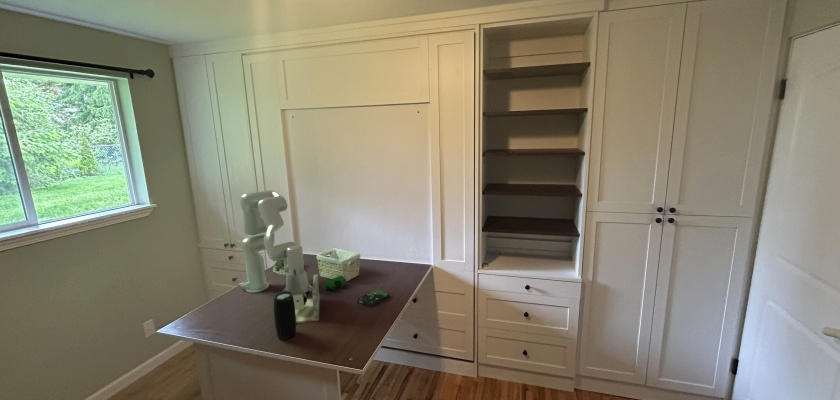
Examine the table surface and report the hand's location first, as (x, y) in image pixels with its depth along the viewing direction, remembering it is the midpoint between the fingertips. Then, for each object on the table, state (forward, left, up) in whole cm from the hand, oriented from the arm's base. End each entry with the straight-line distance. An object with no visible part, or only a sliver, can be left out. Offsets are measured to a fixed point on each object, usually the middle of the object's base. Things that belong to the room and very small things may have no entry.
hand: (299, 303), depth 169 cm
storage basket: (+21, +41, -5) cm, 46 cm away
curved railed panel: (0, 0, -4) cm, 4 cm away
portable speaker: (-4, -20, -5) cm, 21 cm away
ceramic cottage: (-13, +60, -5) cm, 61 cm away
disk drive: (+38, +2, -5) cm, 38 cm away
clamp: (+18, +22, -5) cm, 29 cm away
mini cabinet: (0, 0, -1) cm, 1 cm away
